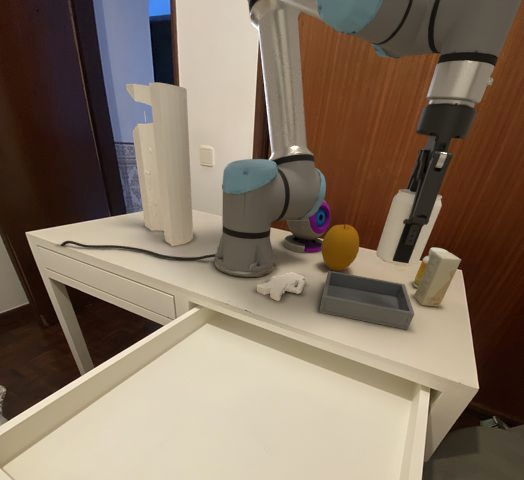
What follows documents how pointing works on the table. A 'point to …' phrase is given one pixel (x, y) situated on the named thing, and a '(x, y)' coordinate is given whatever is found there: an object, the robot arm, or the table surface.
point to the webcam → (308, 231)
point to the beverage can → (395, 227)
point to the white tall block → (164, 161)
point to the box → (436, 278)
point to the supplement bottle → (423, 265)
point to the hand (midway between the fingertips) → (397, 254)
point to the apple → (340, 247)
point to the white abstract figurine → (282, 285)
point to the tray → (367, 300)
